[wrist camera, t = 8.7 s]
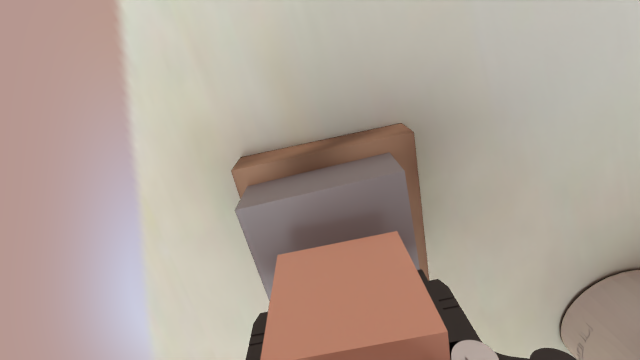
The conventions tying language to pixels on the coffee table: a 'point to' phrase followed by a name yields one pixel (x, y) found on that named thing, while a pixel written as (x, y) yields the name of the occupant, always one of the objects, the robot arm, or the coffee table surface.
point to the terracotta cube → (352, 305)
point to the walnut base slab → (338, 152)
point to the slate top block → (325, 210)
